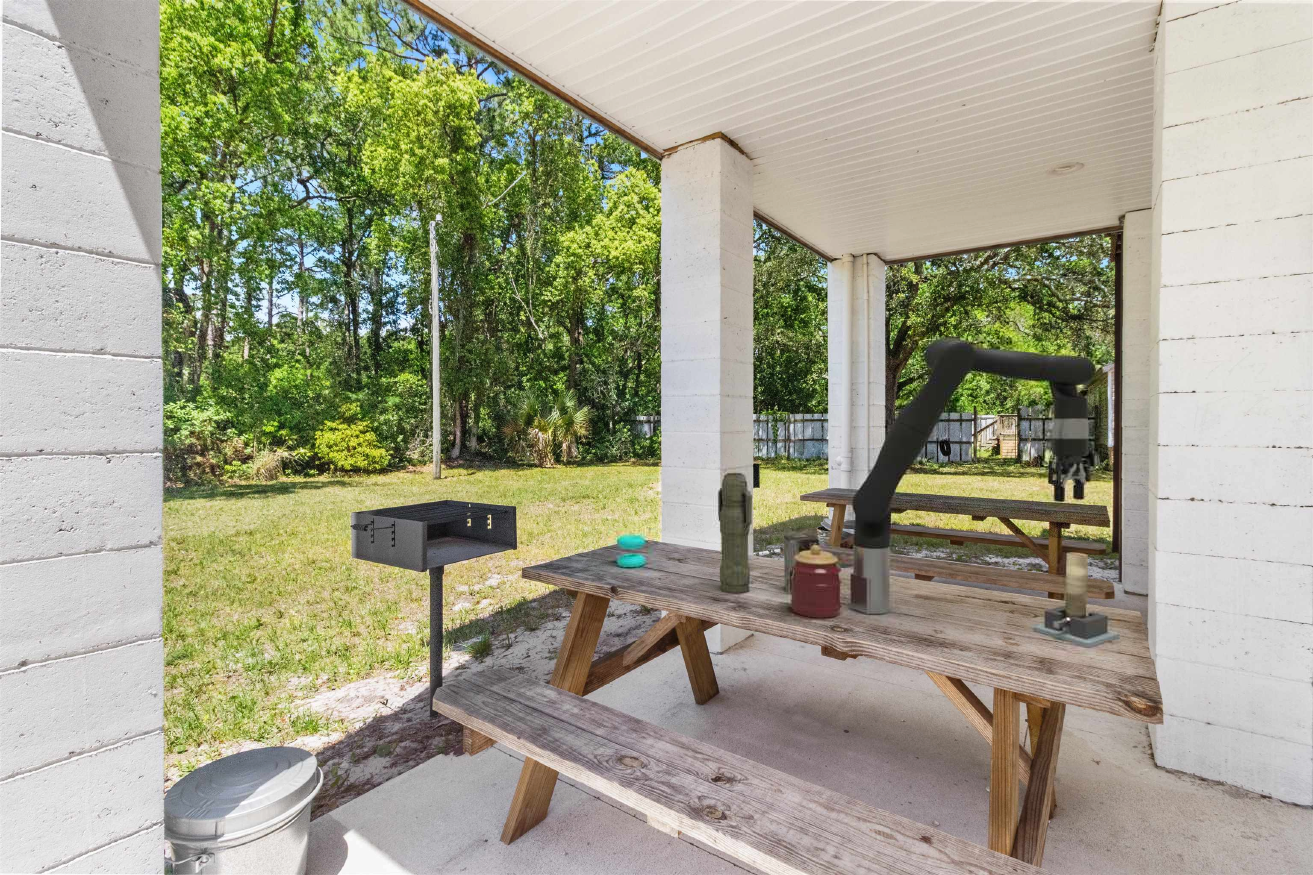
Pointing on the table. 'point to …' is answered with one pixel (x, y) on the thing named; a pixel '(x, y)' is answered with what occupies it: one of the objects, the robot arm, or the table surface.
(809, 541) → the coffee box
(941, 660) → the table surface
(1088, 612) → the plunger
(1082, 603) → the birch dowel
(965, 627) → the table surface
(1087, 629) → the band socket
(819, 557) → the canister
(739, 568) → the thermos
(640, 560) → the donuts
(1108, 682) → the table surface
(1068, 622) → the plunger
